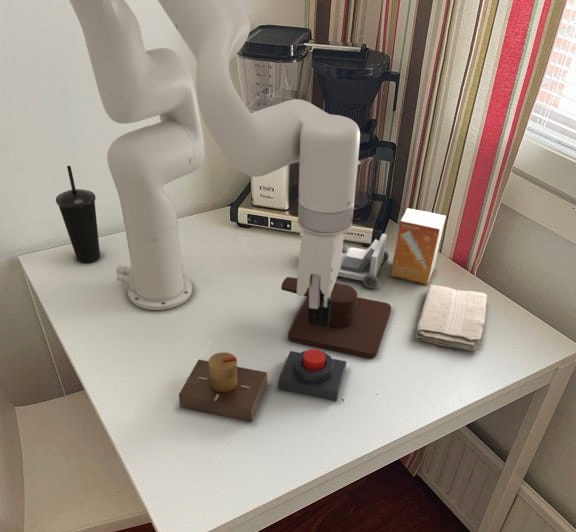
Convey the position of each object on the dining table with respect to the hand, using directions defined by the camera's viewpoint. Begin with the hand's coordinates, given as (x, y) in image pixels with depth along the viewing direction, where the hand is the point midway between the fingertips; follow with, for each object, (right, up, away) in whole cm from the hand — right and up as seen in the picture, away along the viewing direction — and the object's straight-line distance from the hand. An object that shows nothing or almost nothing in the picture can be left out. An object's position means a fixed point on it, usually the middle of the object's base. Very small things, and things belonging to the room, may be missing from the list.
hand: (318, 322), depth 96 cm
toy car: (+7, +15, +36) cm, 39 cm away
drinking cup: (-48, +17, +36) cm, 62 cm away
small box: (+22, +14, +35) cm, 43 cm away
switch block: (-1, -9, +8) cm, 12 cm away
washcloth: (+27, +2, +22) cm, 35 cm away
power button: (-1, -6, +6) cm, 9 cm away
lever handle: (+4, +2, +21) cm, 21 cm away
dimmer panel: (-15, -12, +5) cm, 20 cm away
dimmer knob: (-15, -9, +3) cm, 18 cm away
